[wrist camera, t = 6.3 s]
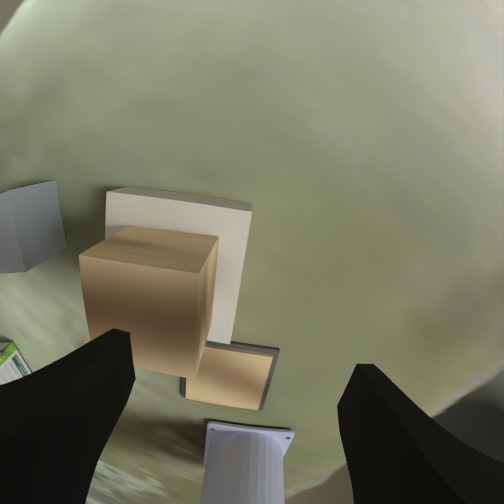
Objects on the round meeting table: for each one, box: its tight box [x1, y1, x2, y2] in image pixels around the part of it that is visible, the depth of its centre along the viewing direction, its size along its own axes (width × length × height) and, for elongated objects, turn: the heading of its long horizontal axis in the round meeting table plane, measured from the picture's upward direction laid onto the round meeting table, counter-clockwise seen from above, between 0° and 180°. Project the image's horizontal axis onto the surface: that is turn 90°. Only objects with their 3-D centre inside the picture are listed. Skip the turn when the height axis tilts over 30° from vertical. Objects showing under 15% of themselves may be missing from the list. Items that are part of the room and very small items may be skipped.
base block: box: [105, 187, 253, 344], centre depth 17 cm, size 8×8×3 cm
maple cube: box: [79, 226, 219, 379], centre depth 13 cm, size 5×5×5 cm
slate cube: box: [0, 180, 68, 274], centre depth 15 cm, size 5×5×5 cm
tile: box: [182, 340, 279, 410], centre depth 20 cm, size 7×7×1 cm
